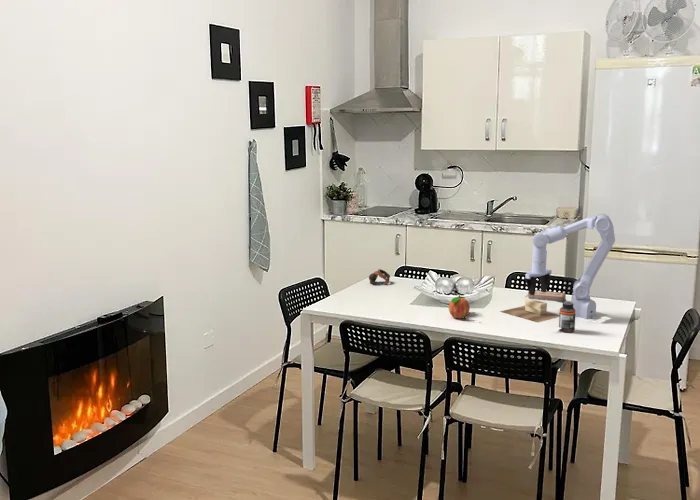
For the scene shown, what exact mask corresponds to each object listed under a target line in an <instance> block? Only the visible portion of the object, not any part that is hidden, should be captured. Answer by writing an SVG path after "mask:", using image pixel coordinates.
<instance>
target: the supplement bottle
mask: <svg viewBox="0 0 700 500" xmlns="http://www.w3.org/2000/svg"><path fill="white" fill-rule="evenodd" d="M561 305H562V307H560V308H559V315H560V316H559V317H558V328H559V329H558V331H559V332H562V333H566V334H571V333H574V332H575V329H576V317H575V312H576V310H575V309H574V308H573V303H572V302H571V301H566V302H563V303H562V304H561Z"/></svg>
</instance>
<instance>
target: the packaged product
mask: <svg viewBox="0 0 700 500" xmlns="http://www.w3.org/2000/svg"><path fill="white" fill-rule="evenodd" d="M566 295H567V294H566V293H565V292H556V291H549V290H546V292H541V290H537V289H535V294H534V295H530V294H529V290H528V292H527V294H526V295H525V298H526V297H528V300H530V299H533V300H537V301H541V300H542V301H550V302H551V301H552V302H557V303H561V304H563V302H567V298H566Z"/></svg>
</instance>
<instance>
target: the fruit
mask: <svg viewBox="0 0 700 500" xmlns="http://www.w3.org/2000/svg"><path fill="white" fill-rule="evenodd" d="M448 311H449V314H450V315H451V317H452V318H454V319H464V318H466V316H468V314H469V313H470V303H469V301H468V299H466V297H465V296H461V294H460V293H459V294H458V296H456V297H453V298H452V299H450V301H449V304H448Z"/></svg>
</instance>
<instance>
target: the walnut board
mask: <svg viewBox="0 0 700 500" xmlns="http://www.w3.org/2000/svg"><path fill="white" fill-rule="evenodd" d="M499 312H500V313H503V314H506V315H507V314H508V315H511V316H514V317H517V318H521V319H523V320H528V321H531V322H534V323H542V322H545V321H549V320H553V319H557V318H559V316H560V314H557V313H553V312H550V311H547V313H546V314H544V315H537V314H533V313H530V312H526V311H525V305H522V306H518V307H513V308H509V309H505V310H500V311H499Z"/></svg>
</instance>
